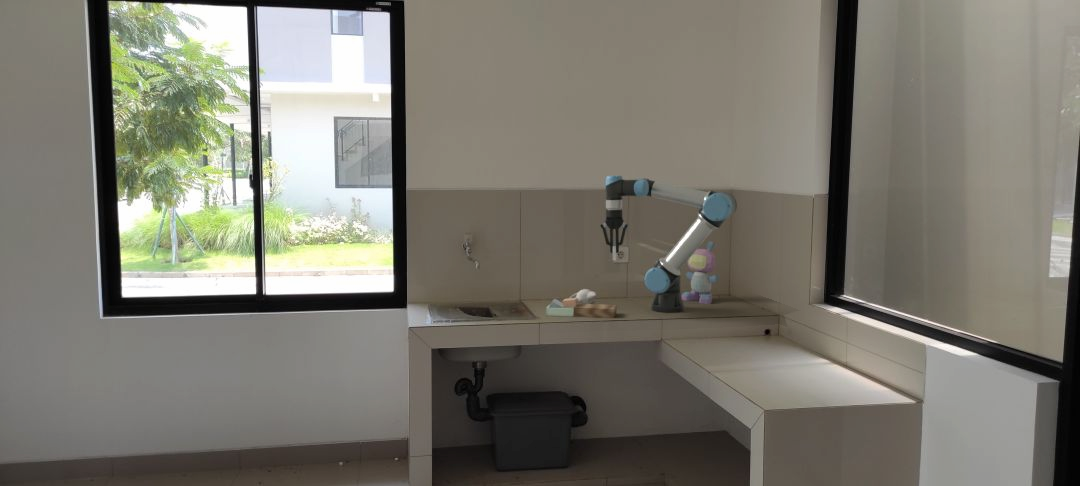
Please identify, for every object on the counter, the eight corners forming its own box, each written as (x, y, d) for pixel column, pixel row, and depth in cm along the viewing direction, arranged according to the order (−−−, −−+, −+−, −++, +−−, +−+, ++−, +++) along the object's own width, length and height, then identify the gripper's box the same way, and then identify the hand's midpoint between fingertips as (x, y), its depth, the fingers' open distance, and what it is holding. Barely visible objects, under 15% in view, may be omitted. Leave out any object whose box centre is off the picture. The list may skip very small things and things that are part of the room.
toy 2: (678, 299, 395) (679, 240, 391) (691, 296, 402) (692, 238, 399) (708, 304, 381) (710, 243, 378) (721, 301, 389) (723, 241, 386)
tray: (578, 311, 365) (578, 303, 365) (573, 316, 353) (573, 309, 352) (552, 310, 368) (552, 302, 368) (545, 315, 356) (545, 307, 355)
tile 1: (554, 298, 363) (551, 303, 364) (552, 300, 358) (548, 306, 358) (565, 305, 363) (562, 310, 363) (563, 307, 357) (560, 313, 357)
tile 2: (578, 303, 361) (577, 297, 361) (576, 306, 356) (575, 299, 355) (565, 305, 363) (565, 298, 363) (563, 307, 357) (562, 301, 357)
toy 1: (575, 312, 384) (572, 311, 369) (569, 296, 385) (566, 294, 370) (600, 303, 382) (598, 302, 368) (594, 286, 384) (592, 284, 369)
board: (616, 313, 360) (616, 304, 359) (613, 317, 350) (613, 309, 350) (577, 311, 364) (577, 303, 363) (573, 316, 354) (573, 307, 354)
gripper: (629, 208, 363) (629, 259, 366) (601, 208, 366) (601, 258, 368) (627, 209, 356) (628, 261, 358) (599, 209, 359) (599, 260, 361)
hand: (614, 259), depth 363 cm, fingers closed
